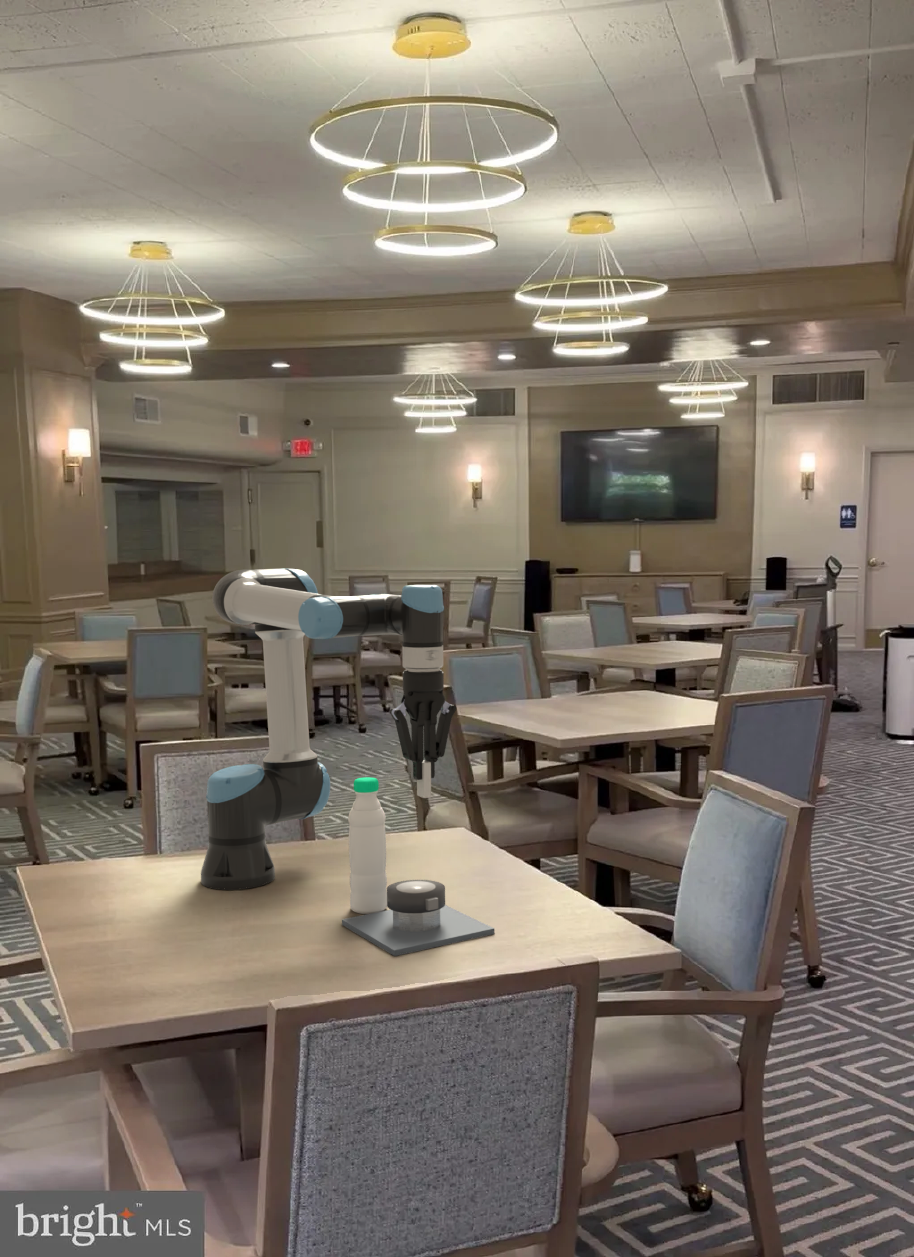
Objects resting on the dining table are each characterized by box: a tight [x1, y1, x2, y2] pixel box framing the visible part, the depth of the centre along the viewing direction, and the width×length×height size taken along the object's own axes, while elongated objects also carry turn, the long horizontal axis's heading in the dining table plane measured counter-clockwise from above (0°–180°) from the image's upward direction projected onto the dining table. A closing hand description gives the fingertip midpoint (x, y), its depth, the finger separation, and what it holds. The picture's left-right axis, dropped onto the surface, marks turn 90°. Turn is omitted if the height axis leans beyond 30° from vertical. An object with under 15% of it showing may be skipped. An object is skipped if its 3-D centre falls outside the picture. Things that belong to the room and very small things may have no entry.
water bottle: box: [347, 776, 388, 915], centre depth 215 cm, size 7×7×25 cm
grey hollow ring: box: [393, 909, 440, 932], centre depth 203 cm, size 8×8×4 cm
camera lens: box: [386, 879, 446, 913], centre depth 203 cm, size 12×10×6 cm
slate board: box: [341, 904, 495, 957], centre depth 203 cm, size 20×20×1 cm
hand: (424, 796), depth 210 cm, fingers closed
